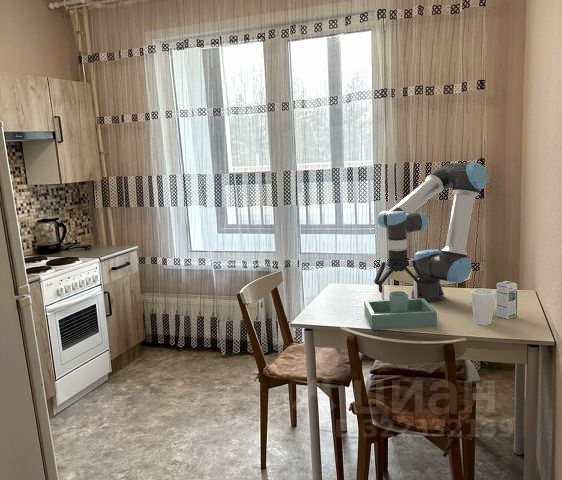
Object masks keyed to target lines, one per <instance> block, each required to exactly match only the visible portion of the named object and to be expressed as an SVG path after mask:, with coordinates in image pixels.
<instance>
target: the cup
mask: <svg viewBox="0 0 562 480" xmlns="http://www.w3.org/2000/svg"><path fill="white" fill-rule="evenodd" d="M408 299H409V293H408V292H406V291H401V290H398V291H397V290H396V291H395V290H394V291H391V292H389V294H388V300H389V307H390V312H391V313H405V312H408Z"/></svg>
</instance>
